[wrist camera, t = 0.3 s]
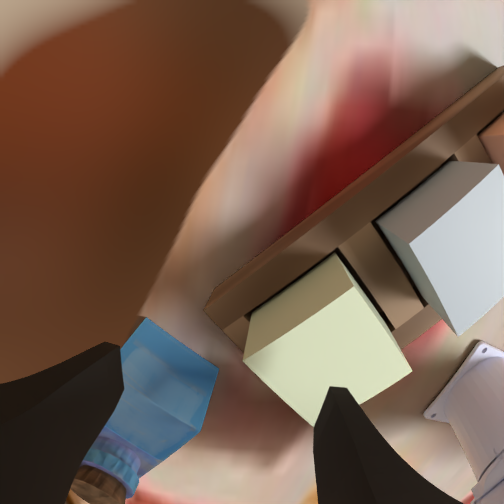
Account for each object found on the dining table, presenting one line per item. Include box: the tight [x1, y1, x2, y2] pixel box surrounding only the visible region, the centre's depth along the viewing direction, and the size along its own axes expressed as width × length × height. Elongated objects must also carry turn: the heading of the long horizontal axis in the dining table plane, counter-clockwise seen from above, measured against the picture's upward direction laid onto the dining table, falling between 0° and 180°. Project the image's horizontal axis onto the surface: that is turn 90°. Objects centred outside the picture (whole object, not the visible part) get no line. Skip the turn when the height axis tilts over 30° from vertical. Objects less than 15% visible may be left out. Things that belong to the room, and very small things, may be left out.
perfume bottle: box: [71, 317, 219, 504], centre depth 16 cm, size 6×6×12 cm
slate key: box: [375, 161, 504, 337], centre depth 13 cm, size 5×5×4 cm
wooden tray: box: [203, 66, 504, 353], centre depth 16 cm, size 9×25×3 cm, turn 130°
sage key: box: [243, 253, 412, 427], centre depth 14 cm, size 5×5×4 cm
